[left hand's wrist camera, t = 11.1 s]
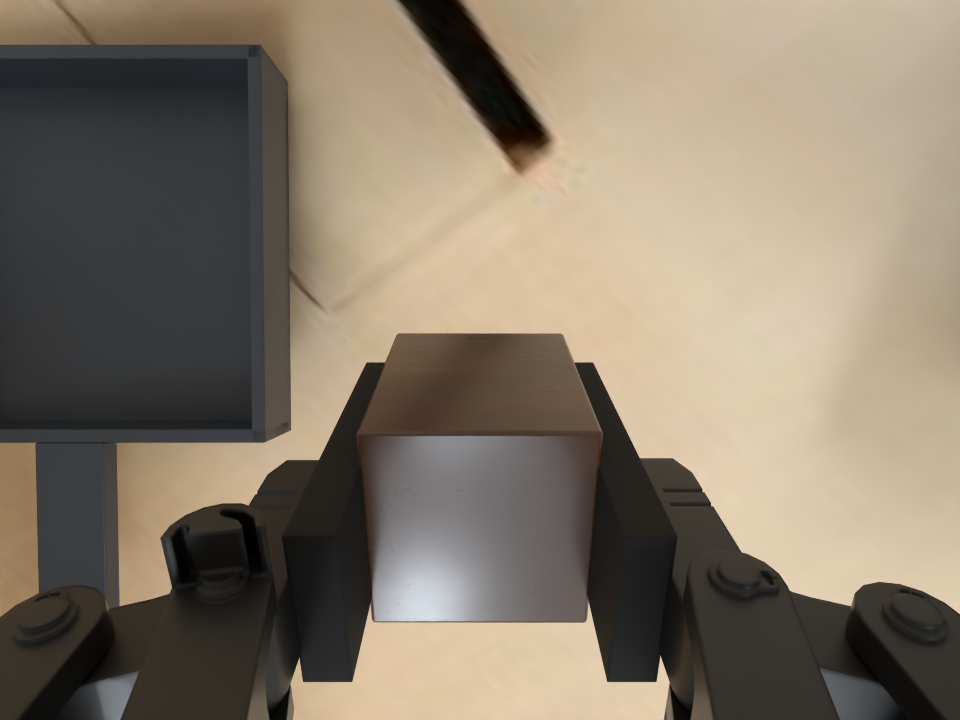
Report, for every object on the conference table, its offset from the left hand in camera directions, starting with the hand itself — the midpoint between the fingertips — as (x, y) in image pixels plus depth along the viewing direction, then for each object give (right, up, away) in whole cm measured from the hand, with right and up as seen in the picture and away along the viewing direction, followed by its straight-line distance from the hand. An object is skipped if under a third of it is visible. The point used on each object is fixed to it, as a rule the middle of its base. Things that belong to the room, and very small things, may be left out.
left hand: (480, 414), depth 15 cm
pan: (-18, 0, +15) cm, 23 cm away
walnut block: (0, 0, 0) cm, 0 cm away
